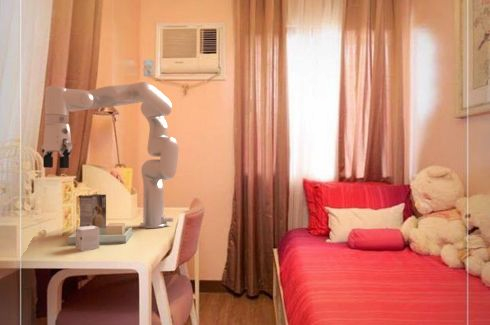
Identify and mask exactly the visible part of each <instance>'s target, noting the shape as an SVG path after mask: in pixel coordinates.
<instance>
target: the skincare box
mask: <svg viewBox="0 0 490 325" xmlns="http://www.w3.org/2000/svg"><path fill="white" fill-rule="evenodd" d="M75 232H76V245H75V248H76V249H77V250H79V251H80V252H85V251H92V250H96V249H99V248H100V244H99V228H98V227H96V226H85V227H80V226H78V227H75Z"/></svg>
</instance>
